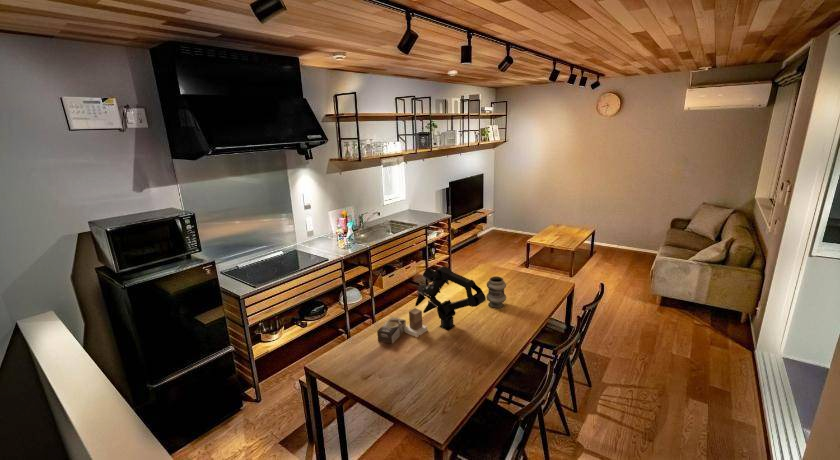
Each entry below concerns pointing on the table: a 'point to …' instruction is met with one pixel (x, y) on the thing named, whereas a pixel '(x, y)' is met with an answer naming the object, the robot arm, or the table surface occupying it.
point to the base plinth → (414, 332)
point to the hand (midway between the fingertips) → (419, 309)
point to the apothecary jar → (496, 292)
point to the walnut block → (415, 319)
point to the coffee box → (391, 330)
